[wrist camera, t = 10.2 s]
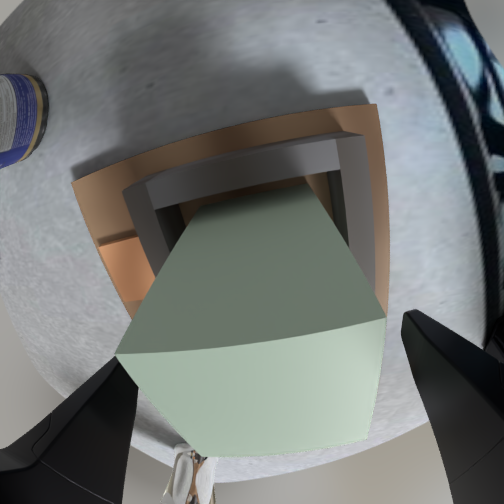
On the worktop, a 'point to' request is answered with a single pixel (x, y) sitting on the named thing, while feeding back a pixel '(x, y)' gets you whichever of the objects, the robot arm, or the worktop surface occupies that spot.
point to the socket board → (241, 190)
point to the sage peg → (260, 331)
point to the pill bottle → (21, 116)
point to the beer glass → (191, 478)
